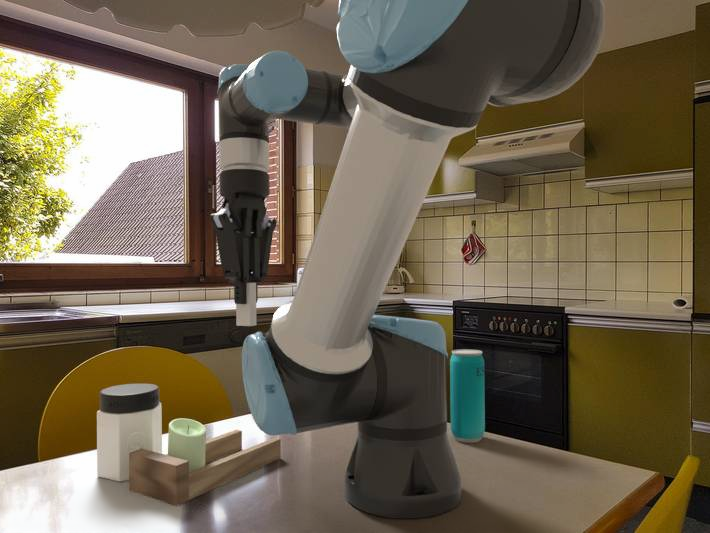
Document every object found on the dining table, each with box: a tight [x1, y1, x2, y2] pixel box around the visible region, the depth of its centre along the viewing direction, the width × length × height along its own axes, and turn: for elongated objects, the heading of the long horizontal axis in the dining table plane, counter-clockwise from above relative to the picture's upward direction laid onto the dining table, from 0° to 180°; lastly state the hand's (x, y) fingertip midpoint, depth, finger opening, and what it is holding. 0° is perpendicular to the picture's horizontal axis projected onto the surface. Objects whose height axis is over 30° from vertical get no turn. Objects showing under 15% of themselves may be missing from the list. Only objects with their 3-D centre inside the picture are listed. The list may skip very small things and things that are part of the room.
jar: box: [96, 382, 163, 483], centre depth 81 cm, size 9×8×12 cm
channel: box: [128, 429, 282, 507], centre depth 80 cm, size 9×20×5 cm, turn 148°
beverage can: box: [449, 348, 486, 444], centre depth 95 cm, size 6×6×15 cm
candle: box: [167, 417, 207, 472], centre depth 77 cm, size 5×5×8 cm
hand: (246, 325), depth 84 cm, fingers closed
